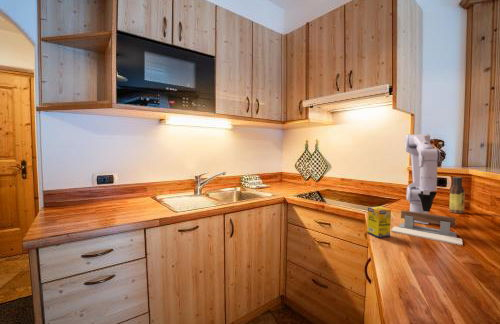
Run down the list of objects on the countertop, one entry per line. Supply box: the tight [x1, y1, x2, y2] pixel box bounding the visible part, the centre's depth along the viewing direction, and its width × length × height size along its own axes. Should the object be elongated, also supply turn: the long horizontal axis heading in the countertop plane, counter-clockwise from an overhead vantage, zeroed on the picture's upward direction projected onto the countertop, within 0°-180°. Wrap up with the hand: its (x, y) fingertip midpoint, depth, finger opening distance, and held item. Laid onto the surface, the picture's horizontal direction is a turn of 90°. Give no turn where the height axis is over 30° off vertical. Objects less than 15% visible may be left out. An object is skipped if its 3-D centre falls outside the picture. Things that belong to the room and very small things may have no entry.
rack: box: [398, 216, 458, 238], centre depth 98 cm, size 6×19×6 cm, turn 49°
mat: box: [390, 225, 463, 247], centre depth 92 cm, size 7×22×1 cm, turn 49°
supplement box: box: [366, 206, 392, 239], centre depth 92 cm, size 6×6×11 cm
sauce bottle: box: [448, 176, 466, 215], centre depth 128 cm, size 6×6×20 cm
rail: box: [400, 209, 456, 228], centre depth 97 cm, size 3×18×3 cm, turn 49°
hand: (427, 209), depth 97 cm, fingers open, 7 cm apart
